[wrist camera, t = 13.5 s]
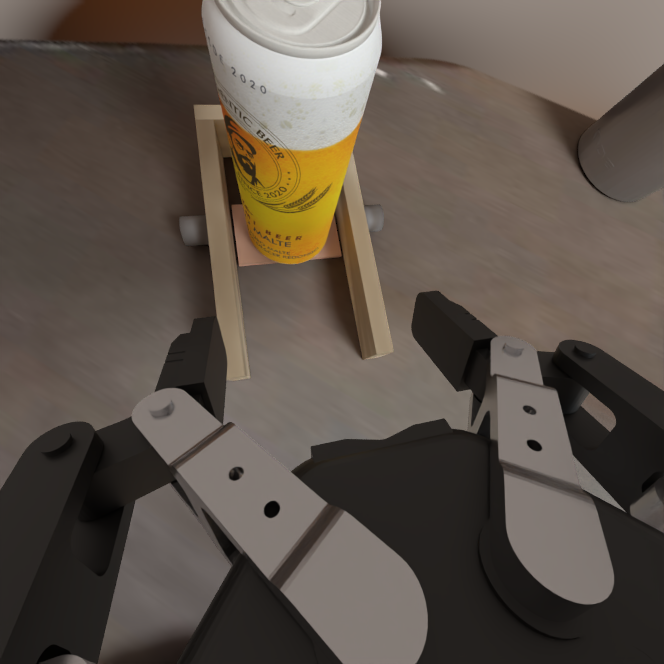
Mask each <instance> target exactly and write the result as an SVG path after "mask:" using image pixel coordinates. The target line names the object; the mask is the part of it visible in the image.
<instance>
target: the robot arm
mask: <svg viewBox="0 0 664 664" xmlns="http://www.w3.org/2000/svg"><path fill="white" fill-rule="evenodd" d="M578 156H579V160H580V164H581V166H582V168H583V170H584V172H585V174H586V176H587V177H588V179H589V180H590V181H591V182H592V183H593V184H594V186H595V187H596V188H598V189H599V190H600V191H601V192H603V193H604V194H606V195H607V196H609V197H611V198H613V199H616V200H619V201H624V202H635V201H638V200H641V199H643V198H645V197H647V196H648V195H650V194H652V193H654V192H656V191H658V190H660V189H661V188H663V187H664V64H663V65H662V66H661V67H659V68H658V69H657V70H656V71H655V72H653V73H652V74H651V75H650V76H649V77H648V78H647V79H645V80H644V81H643V82H642V83H641V84H640V85H638V86H637V87H636V88H635V89H634V90H632V91H631V92H630V93H629V94H628V95H626V96H625V97H624V98H623V99H622V100H621V101H620V102H618V103H617V104H616V105H615V106H614V107H613V108H611V109H610V110H609V111H608V112H607V113H605V115H603V116H602V117H601V118H600V119H599V120H597V121H596V122H595V123H594V124H593V125H592V126H590V127H589V128H588V129H587V130H586V131H585V132H584V133H583V134H582V136H581V138H580V140H579V145H578ZM411 328H412V334H413V337H414V338H415V340H416V341H417V342H418V343H419V345H420V346H421V347H422V348H423V350H424V351H425V352H426V353H427V355H428V356H429V357H430V358H431V360H432V361H433V362H434V363H435V365H436V366H437V367H438V368H439V370H440V371H441V372H442V373H443V375H444V376H445V377H446V378H447V380H448V381H449V382H450V383H451V385H452V386H453V387H454V388H455V390H456V391H457V392H458V391H463V390H468V389H471V390H472V394H471V397H470V404H469V417H468V429H467V431H464V430H457V429H451V427H450V426H449V424H448V423H447V422H446V420H445V419H440V420H435V421H430V422H425V423H421V424H416V425H413V426H411V427H409V428H407V429H405V430H403V431H401V432H399V433H397V434H395V435H393V436H391V437H389V438H387V439H384V440H362V439H344V440H339V441H335V442H330V443H325V444H320V445H316V446H311V459H309V460H307V461H305V462H303V463H302V464H300V465H299V466H297V467H296V468H295V469H294V470H292V471H291V472H290V471H289V470H288V469H287V468H286V467H284V466H283V465H282V464H281V463H280V462H279V461H277V460H276V459H275V458H274V457H273V456H272V455H271V454H269V453H268V452H267V451H266V450H265V449H264V448H262V447H261V446H260V445H259V444H258V443H257V442H255V441H254V440H253V439H252V438H251V437H250V436H248V435H247V434H246V433H245V432H244V431H243V430H241V429H240V428H239V427H238V426H237V425H235V424H234V423H232V422H229V423H227V424H226V425H225V426H224V425H223V417H224V404H225V391H226V378H227V354H226V349H225V345H224V342H223V338H222V334H221V330H220V326H219V322H218V319H217V317H216V316H214V317H206V318H197V319H194V321H193V324H192V328H191V332H190V333H186V334H180V335H179V336H178V337H177V338H176V339H175V340H174V341H173V342H172V343H171V346H170V349H169V352H168V355H167V358H166V360H165V364H164V366H163V369H162V372H161V375H160V378H159V381H158V384H157V386H156V389H155V392H154V393H152V394H150V395H148V396H147V397H145V398H144V399H142V400H141V401H140V402H139V403H138V404H137V405H136V407H135V408H134V410H133V413H132V416H131V417H129V418H127V419H125V420H123V421H120V422H118V423H115V424H113V425H110V426H107V427H105V428H102V429H100V430H97V431H95V430H94V428H93V427H92V425H90V424H89V423H86V422H71V423H67V424H63V425H61V426H58V427H56V428H53V429H51V430H50V431H48V432H46V433H44V434H43V435H41V436H40V437H39V438H37V439H36V440H35V441H34V442H32V443H31V444H30V445H29V446H28V448H27V449H26V450H25V451H24V453H23V454H22V456H21V458H20V459H19V461H18V462H17V464H16V466H15V467H14V469H13V471H12V472H11V474H10V475H9V477H8V479H7V480H6V482H5V484H4V485H3V487H2V489H1V490H0V664H97V663H98V659H99V654H100V650H101V646H102V641H103V637H104V633H105V629H106V624H107V620H108V616H109V611H110V607H111V603H112V599H113V594H114V590H115V586H116V581H117V577H118V573H119V569H120V564H121V560H122V556H123V551H124V547H125V543H126V539H127V534H128V530H129V526H130V521H131V517H132V513H133V509H134V504H135V500H136V499H138V498H140V497H142V496H144V495H146V494H148V493H150V492H152V491H154V490H156V489H158V488H160V487H162V486H164V485H166V484H168V483H169V484H170V485H171V487H172V488H173V489H174V491H175V492H176V493H177V494H178V496H179V497H180V498H181V500H182V501H183V502H184V503H185V505H186V506H187V507H188V508H189V510H190V511H191V512H192V514H193V515H194V516H195V517H196V519H197V520H198V521H199V523H200V524H201V525H202V527H203V528H204V529H205V531H206V532H207V534H208V535H209V537H210V538H211V540H212V541H213V543H214V544H215V546H216V547H217V548H218V550H219V551H220V552H221V554H222V555H223V556H224V558H225V559H226V560H227V561H228V563H229V564H230V565H231V569H230V571H229V572H228V574H227V576H226V578H225V579H224V581H223V583H222V585H221V586H220V588H219V590H218V592H217V593H216V595H215V597H214V599H213V600H212V602H211V604H210V606H209V607H208V609H207V611H206V613H205V614H204V616H203V618H202V620H201V621H200V623H199V625H198V627H197V628H196V630H195V632H194V634H193V635H192V637H191V639H190V641H189V642H188V644H187V646H186V648H185V649H184V651H183V653H182V655H181V657H180V658H179V660H178V662H177V664H664V391H663V390H661V389H660V388H658V387H657V386H655V385H654V384H652V383H651V382H649V381H648V380H646V379H645V378H643V377H642V376H640V375H639V374H637V373H636V372H634V371H633V370H631V369H630V368H628V367H627V366H625V365H624V364H622V363H621V362H619V361H618V360H616V359H615V358H613V357H612V356H610V355H609V354H607V353H606V352H604V351H603V350H601V349H599V348H598V347H596V346H593V345H591V344H588V343H585V342H582V341H576V340H565V341H562V342H560V344H559V345H558V347H557V349H556V351H555V352H541V351H536V350H535V348H534V347H533V346H532V345H530V344H529V343H527V342H525V341H523V340H521V339H518V338H515V337H510V336H497V335H496V334H495V333H494V332H492V331H491V330H490V329H489V328H488V327H486V326H485V325H484V324H483V323H482V322H480V321H479V320H476V318H475V317H474V316H473V315H472V314H470V313H469V312H468V311H467V310H466V309H465V308H463V307H462V306H460V305H458V304H456V303H454V302H452V301H450V300H448V299H447V298H446V297H445V296H444V295H442V294H441V293H440V292H439V291H430V292H421V293H419V294H418V295H417V297H416V302H415V308H414V314H413V319H412V326H411ZM589 392H590V393H591V394H592V395H593V396H595V397H596V398H597V399H598V400H599V401H601V402H602V403H603V404H604V405H605V406H607V407H608V408H609V409H610V410H611V411H612V412H613V413H614V415H615V418H616V425H615V427H614V428H613V430H612V431H611V432H609V431H608V430H607V429H606V428H605V427H604V426H603V425H601V424H600V423H599V422H598V421H597V420H596V419H595V418H594V417H592V416H591V415H590V414H589V413H588V412H587V411H586V410H585V409H584V408H582V407H581V404H582V403H583V401H584V400H585V398H586V397H587V395H588V394H589ZM573 455H574V457H575V458H576V459H577V460H578V461H579V462H580V463H581V464H582V465H583V466H584V467H585V468H586V469H587V471H588V472H589V473H590V474H591V475H592V476H593V477H594V478H595V479H596V480H597V481H598V482H599V483H600V484H601V486H602V487H603V488H604V489H605V490H606V491H607V492H608V493H609V494H610V495H611V496H612V497H613V498H614V500H615V501H616V502H617V503H618V504H619V505H620V506H621V507H622V508H623V509H624V510H625V511H626V512H627V513H626V512H624V511H622V510H620V509H618V508H617V507H615V506H613V505H611V504H609V503H607V502H605V501H603V500H602V499H600V498H598V497H596V496H594V495H592V494H590V493H589V492H587V491H585V490H583V489H582V488H581V486H580V482H579V478H578V474H577V470H576V466H575V462H574V458H573Z"/></svg>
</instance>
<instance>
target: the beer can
mask: <svg viewBox="0 0 664 664" xmlns="http://www.w3.org/2000/svg"><path fill="white" fill-rule="evenodd" d="M380 7H381V0H203V3H202V19H203V25H204V30H205V35H206V39H207V44H208V48H209V53H210V58H211V62H212V67H213V71H214V76H215V81H216V85H217V90H218V95H219V99H220V104H221V108H222V113H223V118H224V122H225V127H226V131H227V136H228V141H229V145H230V150H231V154H232V159H233V164H234V168H235V173H236V177H237V182H238V187H239V191H240V196H241V200H242V205H243V210H244V214H245V219H246V223H247V228H248V233H249V236H250V239H251V241H252V243H253V244H254V246H255V247H256V249H257V250H258V251H259V252H260V253H262V254H263V255H264V256H265V257H267V258H269V259H271V260H273V261H275V262H279V263H283V264H298V263H302V262H305V261H308V260H310V259H312V258H313V257H315V256H316V255H317V254H318V253H319V252H320V251H321V250H322V248H323V247H324V245H325V243H326V240H327V237H328V233H329V230H330V227H331V223H332V220H333V216H334V213H335V209H336V206H337V202H338V199H339V196H340V192H341V189H342V185H343V182H344V178H345V175H346V171H347V168H348V165H349V161H350V158H351V154H352V151H353V147H354V144H355V140H356V137H357V134H358V130H359V127H360V123H361V120H362V116H363V113H364V109H365V106H366V103H367V99H368V96H369V92H370V89H371V85H372V82H373V78H374V75H375V72H376V68H377V65H378V61H379V58H380V54H381V48H382V35H381V26H380V15H379V12H380Z"/></svg>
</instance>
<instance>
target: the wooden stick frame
mask: <svg viewBox="0 0 664 664" xmlns="http://www.w3.org/2000/svg"><path fill="white" fill-rule="evenodd" d="M194 112H195V121H196V130H197V139H198V148H199V158H200V167H201V176H202V185H203V194H204V203H205V212H206V215H200V216H184V217H180V218H179V225H180V231H181V235H182V238H183V241H184V243H185V245H186V246H195V245H208V244H209V248H210V258H211V267H212V276H213V285H214V294H215V303H216V312H217V319H218V322H219V326H220V330H221V334H222V338H223V342H224V345H225V349H226V354H227V378H226V380H231V381H236V380H242V379H248V378H251V376H250V368H249V360H248V352H247V344H246V336H245V328H244V320H243V312H242V304H241V296H240V288H239V280H238V272H237V264H236V256H235V248H234V240H233V232H232V224H231V216H230V208H229V200H228V192H227V184H226V176H225V168H224V160H223V157H232V154H231V150H230V145H229V141H228V136H227V131H226V127H225V122H224V118H223V113H222V108H221V105H194ZM231 206H232V214H233V221H234V229H235V237H236V245H237V253H238V261H239V266H250V265H261V264H272V263H279V262H275V261H273V260H271V259H269V258H267V257H265V256H264V255H263V254H262V253H260V252H259V251H258V250H257V249H256V247H255V246H254V244H253V243H252V241H251V239H250V236H249V233H248V228H247V223H246V219H245V214H244V210H243V205H242V204H239V205H231ZM335 215H336V220H337V225H338V231H339V236H340V241H341V247H342V252H343V257H344V263H345V268H346V273H347V279H348V284H349V289H350V295H351V300H352V305H353V310H354V316H355V321H356V326H357V332H358V337H359V342H360V348H361V353H362V358H363V360H365V359H371V358H377V357H380V356H383V355H386V354H389V353H392V352H394V350H393V345H392V340H391V335H390V331H389V326H388V321H387V316H386V311H385V306H384V302H383V297H382V292H381V287H380V282H379V277H378V273H377V268H376V263H375V258H374V253H373V248H372V243H371V239H370V234H369V232H373V231H381V229H382V227H383V223H384V213H383V209H382V206H381V205H363V200H362V195H361V190H360V185H359V181H358V176H357V171H356V166H355V161H354V156H353V151H352V154H351V158H350V161H349V165H348V168H347V171H346V175H345V178H344V182H343V185H342V189H341V192H340V196H339V199H338V202H337V206H336V209H335ZM341 256H342V254H341V249H340V244H339V238H338V233H337V228H336V222H335V217H334V216H333V220H332V223H331V227H330V230H329V233H328V237H327V240H326V243H325V245H324V247H323V248H322V250H321V251H320V252H319V253H318V254H317V255H316V256H315V257H313V258H312V259H310V260H314V259H325V258H336V257H341Z"/></svg>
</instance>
